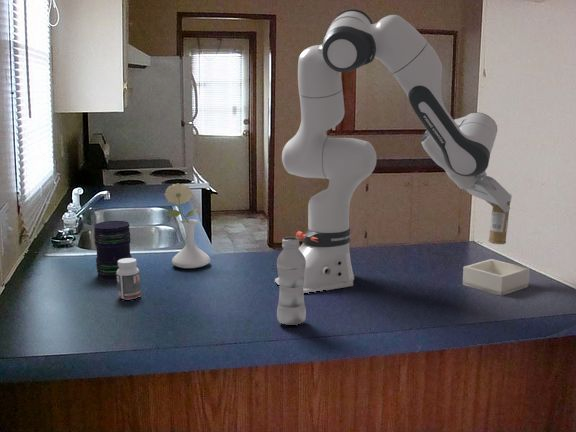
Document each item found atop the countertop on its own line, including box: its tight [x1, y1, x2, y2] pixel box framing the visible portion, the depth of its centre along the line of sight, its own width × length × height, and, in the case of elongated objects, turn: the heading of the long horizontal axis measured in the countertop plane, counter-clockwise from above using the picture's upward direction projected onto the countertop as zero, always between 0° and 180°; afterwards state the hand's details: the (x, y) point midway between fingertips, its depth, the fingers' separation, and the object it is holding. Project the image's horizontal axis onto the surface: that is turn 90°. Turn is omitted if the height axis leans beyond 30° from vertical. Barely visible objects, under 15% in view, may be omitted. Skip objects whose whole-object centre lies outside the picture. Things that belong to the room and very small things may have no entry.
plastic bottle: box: [276, 236, 307, 326], centre depth 151 cm, size 6×7×20 cm
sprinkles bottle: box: [487, 193, 512, 245], centre depth 178 cm, size 5×5×13 cm
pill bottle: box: [116, 257, 142, 299], centre depth 171 cm, size 6×6×10 cm
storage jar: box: [93, 220, 133, 281], centre depth 190 cm, size 10×10×15 cm
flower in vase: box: [163, 182, 211, 269], centre depth 198 cm, size 13×11×25 cm
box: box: [462, 258, 531, 297], centre depth 178 cm, size 12×12×5 cm
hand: (502, 208), depth 178 cm, fingers closed on sprinkles bottle, 4 cm apart
